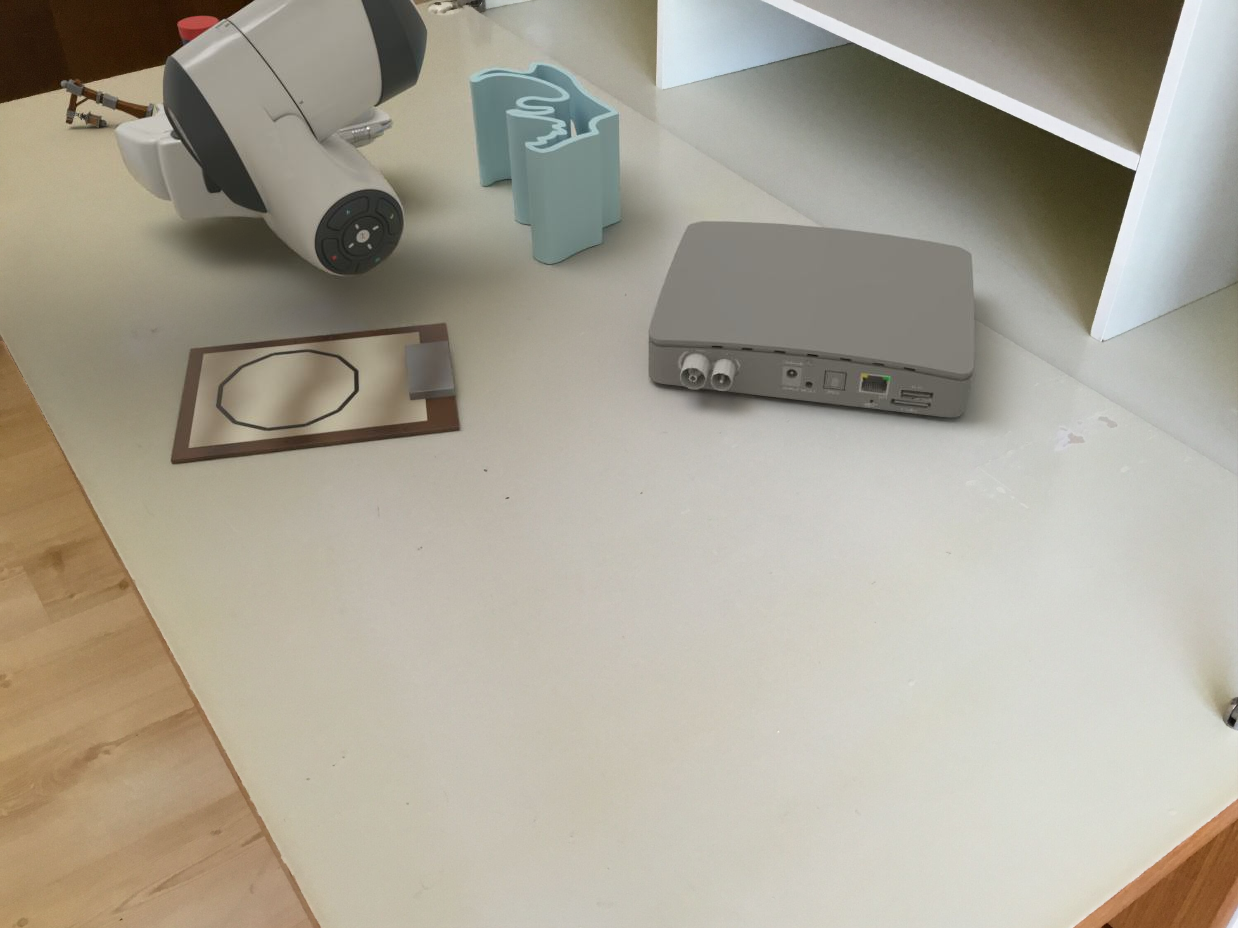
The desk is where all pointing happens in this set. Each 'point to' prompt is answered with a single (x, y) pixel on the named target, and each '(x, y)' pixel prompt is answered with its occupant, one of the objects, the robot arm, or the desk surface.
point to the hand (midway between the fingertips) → (221, 99)
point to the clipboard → (315, 392)
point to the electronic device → (817, 317)
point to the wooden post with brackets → (104, 99)
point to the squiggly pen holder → (549, 154)
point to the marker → (195, 27)
